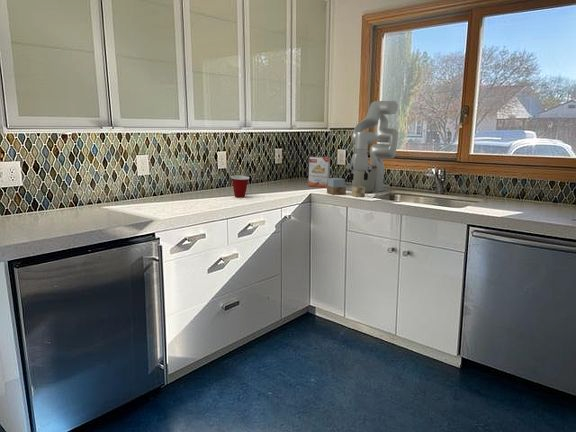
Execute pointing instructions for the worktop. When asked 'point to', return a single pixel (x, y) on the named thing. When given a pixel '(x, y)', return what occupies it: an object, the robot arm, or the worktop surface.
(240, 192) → the plastic cup
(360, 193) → the oak cube
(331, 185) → the tower top
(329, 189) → the tower base
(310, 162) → the cracker box
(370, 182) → the canister
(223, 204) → the worktop surface
